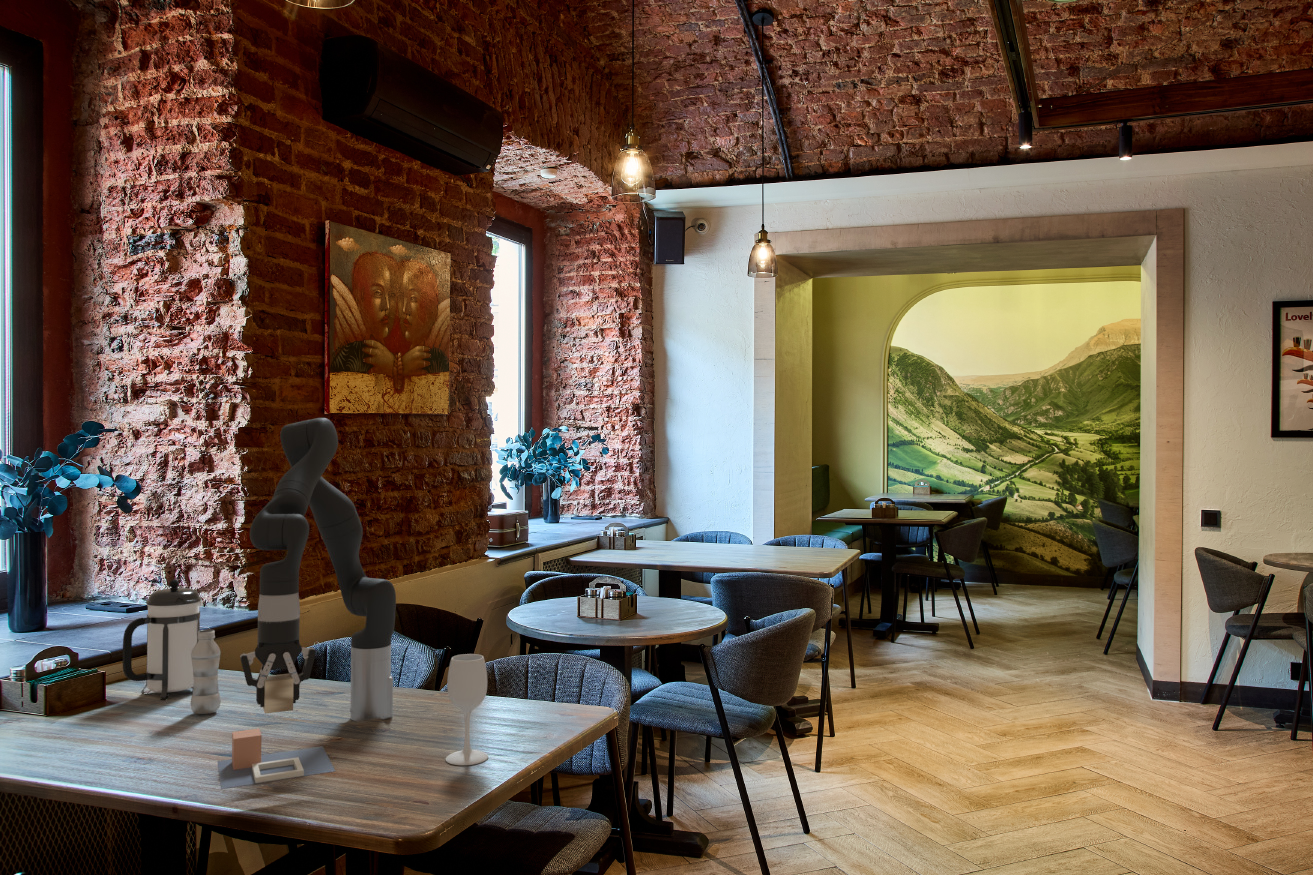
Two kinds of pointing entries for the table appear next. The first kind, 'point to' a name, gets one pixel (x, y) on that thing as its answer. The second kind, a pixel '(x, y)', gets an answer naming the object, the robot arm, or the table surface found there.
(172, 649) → the coffee press
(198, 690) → the plastic bottle
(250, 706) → the table surface
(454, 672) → the wineglass
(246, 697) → the table surface
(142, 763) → the table surface
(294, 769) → the grey board
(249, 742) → the terracotta block
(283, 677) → the birch block
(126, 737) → the table surface
